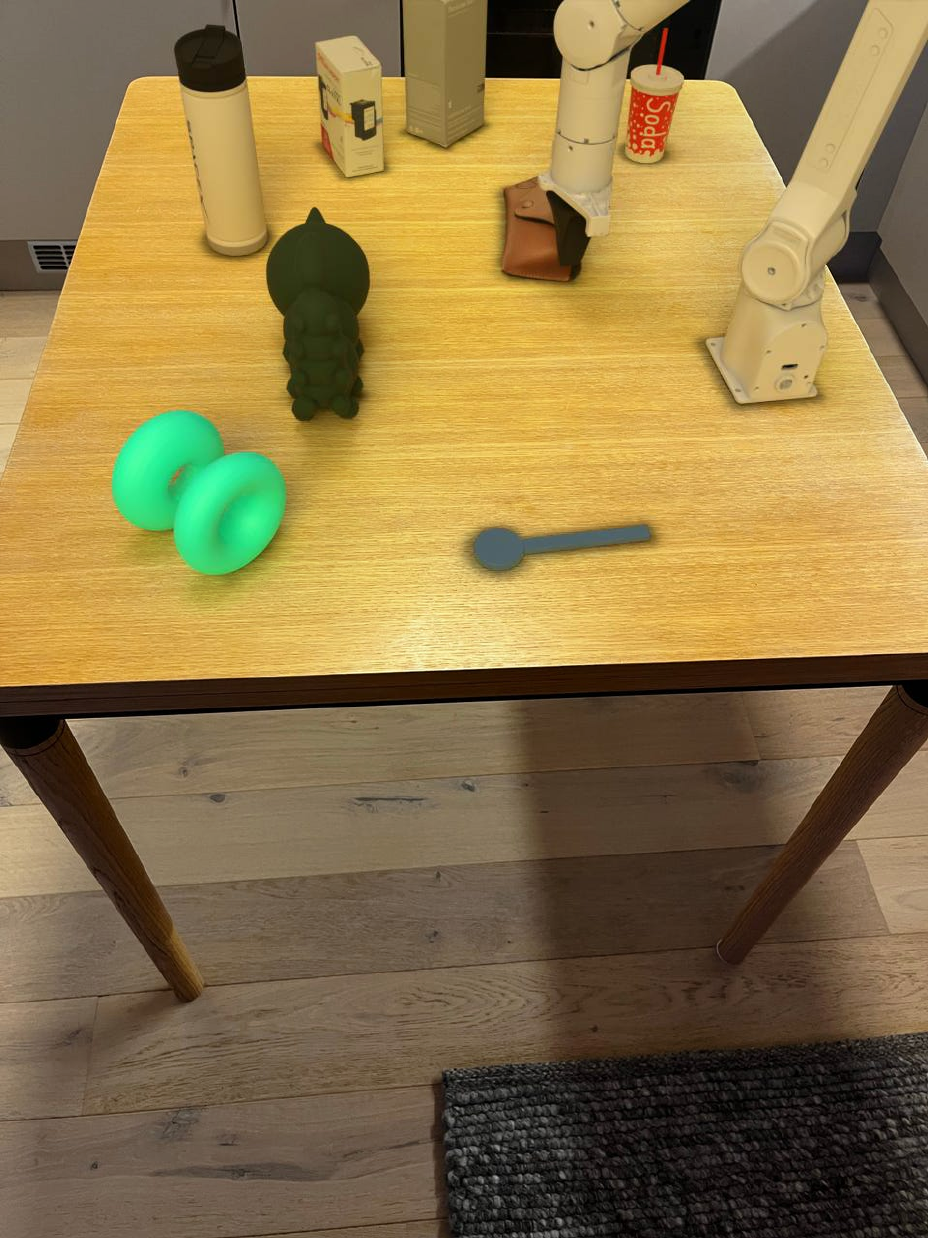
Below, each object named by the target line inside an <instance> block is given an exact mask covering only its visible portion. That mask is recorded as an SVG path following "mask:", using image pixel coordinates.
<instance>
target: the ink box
mask: <svg viewBox="0 0 928 1238" xmlns="http://www.w3.org/2000/svg"><path fill="white" fill-rule="evenodd" d="M314 45H315V58H316V60H315V61H316V74H317V87H318V88H317V91H318V104H319V105H318V107H319V108H318V109H319V120H320V133H321V135H320V136H321V145H322V147H323V148H324V149H325V151H326V153H328V155H329V156H330V157H331V159H332V161H334V163H335V164H336V165H337V167H338V168H339V170H340V171H341V172H342V174H343V175H344V176H345V178H352V177H357V176H363V175H368V174H374V173H378V172H383V171H384V170H385V159H384V158H385V157H384V155H385V154H384V121H383V120H384V115H383V75H382V74H383V69H382V66H381V62H380V61H379V60H378V59H377V57H375V55H374V54H373V53H372V52H371V51H370V50H369V49H368V47H367V46H366V45H365V44H364V43H363V42H362V41H361V40H360V38H359V37H358V36H357V35H348V36H342V37H337V38H332V39H326V40H320V41H315V43H314Z"/></svg>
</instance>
